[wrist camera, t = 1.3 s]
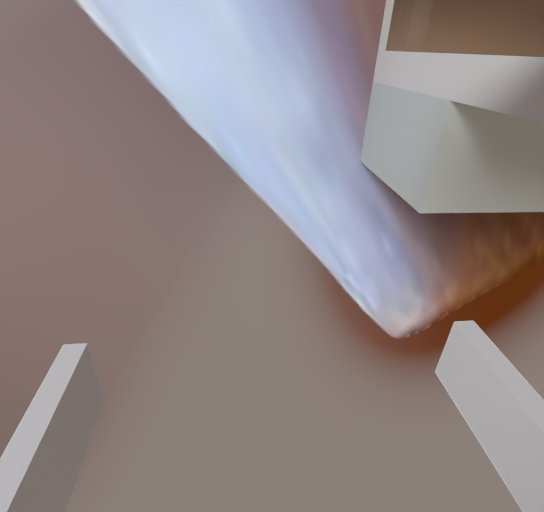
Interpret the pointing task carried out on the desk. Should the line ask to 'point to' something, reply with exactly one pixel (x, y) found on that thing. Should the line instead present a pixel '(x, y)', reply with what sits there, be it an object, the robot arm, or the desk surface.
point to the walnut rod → (468, 27)
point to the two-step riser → (457, 129)
